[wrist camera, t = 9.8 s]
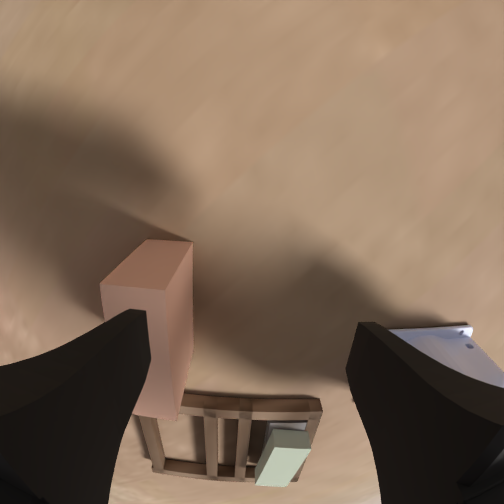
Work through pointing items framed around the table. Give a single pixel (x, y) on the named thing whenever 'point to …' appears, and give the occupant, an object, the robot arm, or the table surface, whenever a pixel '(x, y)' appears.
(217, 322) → the table surface
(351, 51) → the table surface
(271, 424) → the lower offcut
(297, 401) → the rack
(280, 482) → the upper offcut
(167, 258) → the pink rectangular prism
